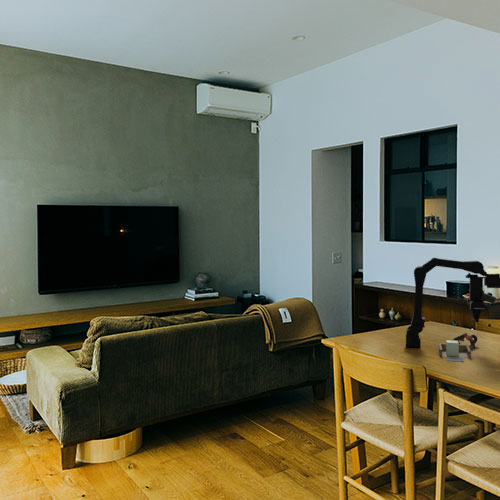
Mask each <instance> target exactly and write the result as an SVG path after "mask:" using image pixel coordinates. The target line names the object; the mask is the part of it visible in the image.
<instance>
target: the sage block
mask: <svg viewBox="0 0 500 500" xmlns="http://www.w3.org/2000/svg"><path fill="white" fill-rule="evenodd" d="M445 341H446V343H445V344H446V355H447V356H459V343H458V341H454V340H453V339H451V340H447V339H446V340H445Z"/></svg>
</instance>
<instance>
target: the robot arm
mask: <svg viewBox="0 0 500 500" xmlns="http://www.w3.org/2000/svg"><path fill="white" fill-rule="evenodd" d="M436 267H440V268H449V269H456V270H463V271H466V272H468V274H466V275H465V277H464V278H465V279H469V289H468V291H469V296H468V297H467V298H466V301H467V306H468V308H469V311H470V313H471V315H472V318H473V320H474V323H479V320H480V317H481V313H482V312H483V311H484V310H485V309H486V303H485V302H487V303H490V304H491V305H494V304H495V303H496V300H497V297H496V296H493V293H492V292H486V293H485V290H484V287H486V289H500V273H487V271H486V270H485V269H484V267H485V266H484V264H483V263H482V262H480V261H479V260H461V261H460V260H455V259H454V260H453V259H446V258H439V257H432V258H431V259H430V260H428V261H427V262H426V263H424V264H423V265H419V266H416V267H415V268H414V270H413V277H414V284H415V287H414V288H415V289H414V291H415V293H414V305H413V306H414V308H413V314H412V317H411V323H410V325H409V326H408V327H406V331H405V349H418V350H419V349H420V348H421V344H422V343H421V337H420V333H422V332H423V330H424V328H426V327H425V326H426V325H425V322H426V321H425V320H426V317H425V316H423V315H422V312H423V295H424V294H423V293H424V286H425V285H424V284H425V281H426V277H427V274H428V273H429V272H430V271H432V270H433V269H434V268H436ZM479 275H480V276H479Z"/></svg>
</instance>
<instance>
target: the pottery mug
mask: <svg viewBox="0 0 500 500" xmlns="http://www.w3.org/2000/svg"><path fill="white" fill-rule="evenodd" d="M465 339H466V340H467V341H468V342H469V343H470V345H468V346H469V348H470V350H474V349H476V348H477V347H476V344H477V343H478V336H477V335H476V334H471V335H470V334H468V333H467V332H464V333H463V334H461V335H459V336H456V337H454V338H453V339H452V341H458V343H459V344H460V345H461V342H465ZM460 341H461V342H460Z"/></svg>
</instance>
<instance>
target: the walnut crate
mask: <svg viewBox="0 0 500 500" xmlns="http://www.w3.org/2000/svg"><path fill="white" fill-rule="evenodd" d="M469 346H470V345H469V344H461V343H460V344H459V356H447V355H446V343H440V342H439V343H438V354H439V357H445V358H446V356H447V357H462V358H463V359H471V358H472V349H470V348H469Z"/></svg>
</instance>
